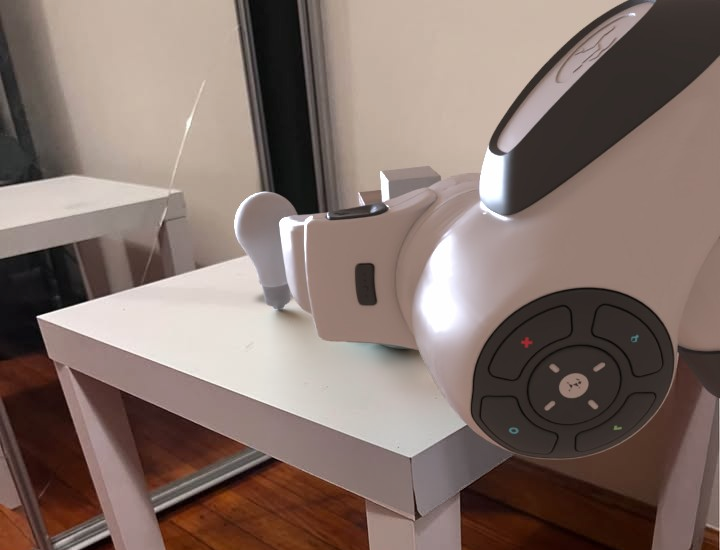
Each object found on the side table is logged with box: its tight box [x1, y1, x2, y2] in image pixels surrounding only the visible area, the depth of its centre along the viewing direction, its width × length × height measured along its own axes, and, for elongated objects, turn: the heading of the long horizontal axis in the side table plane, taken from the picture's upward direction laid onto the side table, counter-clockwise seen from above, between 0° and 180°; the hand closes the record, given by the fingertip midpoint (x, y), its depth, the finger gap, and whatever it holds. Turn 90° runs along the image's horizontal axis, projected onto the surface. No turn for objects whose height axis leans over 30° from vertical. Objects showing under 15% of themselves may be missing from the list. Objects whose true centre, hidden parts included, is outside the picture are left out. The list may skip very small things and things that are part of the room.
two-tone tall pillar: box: [379, 165, 442, 202], centre depth 62 cm, size 4×5×11 cm
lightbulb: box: [233, 191, 299, 310], centre depth 73 cm, size 6×6×11 cm
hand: (429, 213), depth 52 cm, fingers open, 8 cm apart
